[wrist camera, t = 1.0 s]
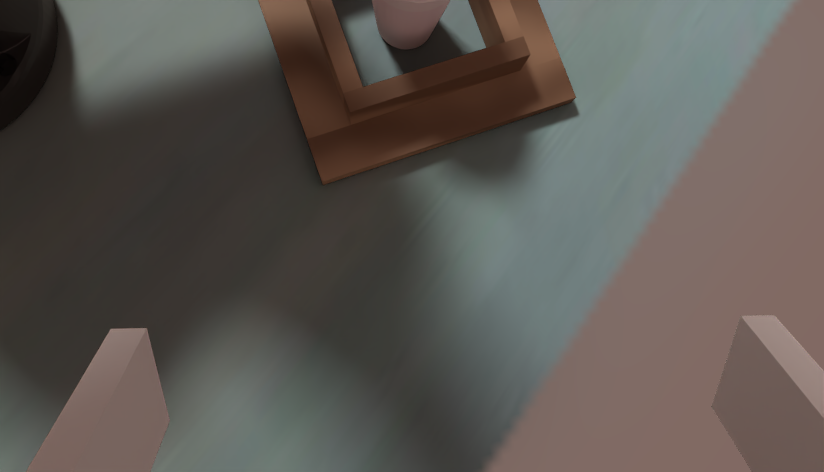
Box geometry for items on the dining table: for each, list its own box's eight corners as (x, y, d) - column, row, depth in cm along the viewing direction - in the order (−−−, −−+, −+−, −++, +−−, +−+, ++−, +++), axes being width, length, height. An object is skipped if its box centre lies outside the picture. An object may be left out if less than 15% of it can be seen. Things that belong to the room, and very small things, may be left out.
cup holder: (237, -60, 41) (226, -94, 38) (480, -128, 43) (490, -166, 40) (322, 185, 40) (319, 172, 36) (570, 102, 42) (590, 83, 38)
